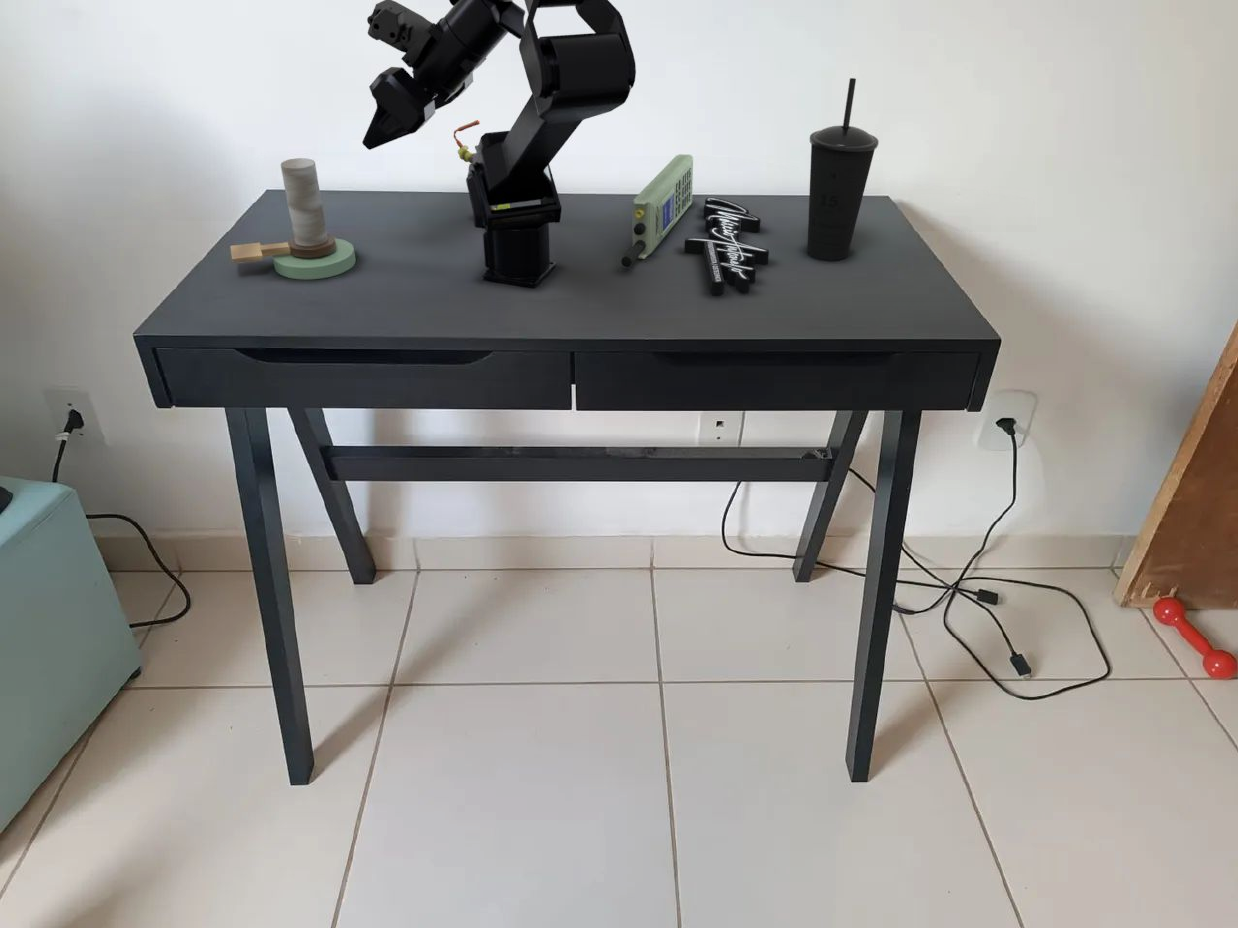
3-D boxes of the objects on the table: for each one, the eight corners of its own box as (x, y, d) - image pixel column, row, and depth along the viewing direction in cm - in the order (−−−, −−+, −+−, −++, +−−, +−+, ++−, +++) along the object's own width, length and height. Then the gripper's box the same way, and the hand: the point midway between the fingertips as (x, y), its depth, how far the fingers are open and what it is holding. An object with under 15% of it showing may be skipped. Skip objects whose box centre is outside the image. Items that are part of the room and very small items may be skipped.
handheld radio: (695, 205, 127) (640, 275, 108) (672, 203, 128) (613, 272, 109) (697, 155, 124) (640, 218, 104) (672, 153, 125) (611, 215, 105)
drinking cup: (796, 239, 118) (818, 69, 106) (859, 244, 117) (888, 73, 105) (793, 262, 112) (816, 84, 100) (859, 268, 110) (889, 89, 99)
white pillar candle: (333, 238, 111) (319, 154, 105) (339, 254, 107) (325, 167, 101) (231, 250, 107) (211, 163, 102) (233, 267, 103) (213, 178, 98)
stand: (370, 255, 111) (368, 243, 110) (327, 284, 104) (324, 272, 103) (304, 244, 114) (302, 232, 113) (258, 272, 107) (255, 260, 106)
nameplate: (677, 197, 125) (753, 198, 125) (677, 208, 126) (751, 209, 126) (691, 282, 103) (783, 283, 103) (690, 295, 104) (782, 296, 104)
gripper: (437, -38, 106) (357, 62, 113) (376, -13, 90) (288, 100, 98) (509, 41, 109) (427, 133, 117) (462, 78, 94) (371, 180, 102)
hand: (380, 134), depth 108 cm, fingers open, 9 cm apart
